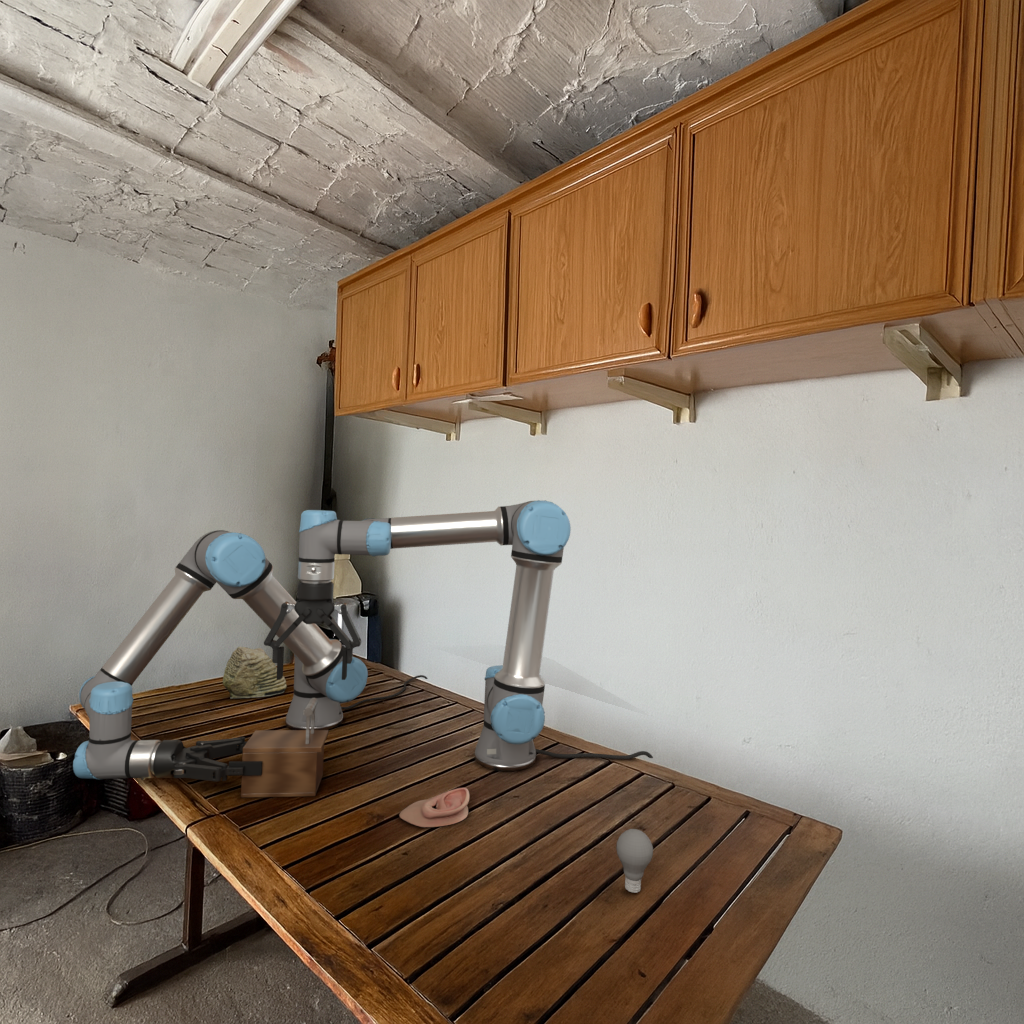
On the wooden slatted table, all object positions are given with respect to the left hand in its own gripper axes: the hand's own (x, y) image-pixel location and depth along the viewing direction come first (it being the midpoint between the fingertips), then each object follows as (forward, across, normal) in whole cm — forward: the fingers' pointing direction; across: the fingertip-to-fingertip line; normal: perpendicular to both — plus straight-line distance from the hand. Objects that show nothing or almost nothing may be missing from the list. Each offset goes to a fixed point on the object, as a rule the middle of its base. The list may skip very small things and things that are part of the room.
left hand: (268, 757), depth 137 cm
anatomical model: (+36, +14, -6) cm, 39 cm away
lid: (+4, 0, +3) cm, 5 cm away
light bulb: (+68, +42, -6) cm, 80 cm away
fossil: (-19, -64, -6) cm, 67 cm away
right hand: (+9, 0, +17) cm, 19 cm away
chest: (+3, 0, -6) cm, 7 cm away
